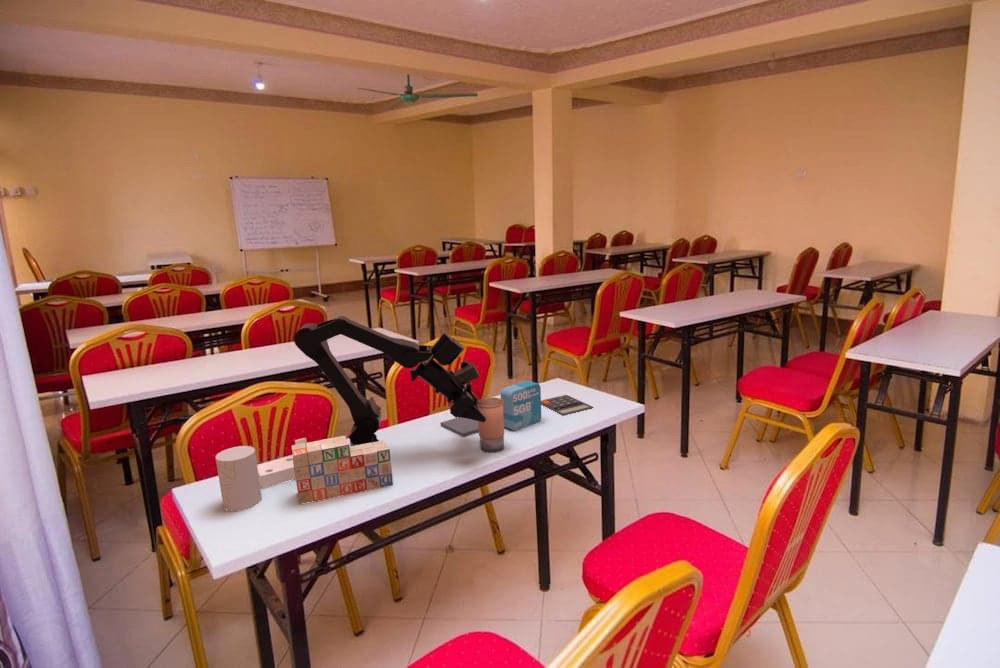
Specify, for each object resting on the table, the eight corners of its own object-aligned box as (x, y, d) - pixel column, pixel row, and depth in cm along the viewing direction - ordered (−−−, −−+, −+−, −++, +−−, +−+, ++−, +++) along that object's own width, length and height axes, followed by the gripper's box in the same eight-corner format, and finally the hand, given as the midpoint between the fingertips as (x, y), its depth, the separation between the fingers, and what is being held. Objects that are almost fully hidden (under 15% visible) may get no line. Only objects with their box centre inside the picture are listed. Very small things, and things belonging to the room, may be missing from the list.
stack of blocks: (388, 474, 146) (383, 427, 143) (393, 485, 140) (389, 436, 138) (297, 493, 138) (290, 444, 136) (298, 505, 133) (292, 454, 130)
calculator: (566, 394, 198) (593, 406, 185) (566, 396, 198) (593, 409, 185) (536, 400, 193) (562, 414, 180) (536, 403, 193) (562, 417, 180)
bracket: (308, 464, 154) (305, 437, 153) (316, 474, 148) (313, 446, 147) (256, 479, 147) (251, 450, 146) (262, 489, 142) (258, 460, 140)
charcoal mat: (463, 437, 167) (463, 433, 167) (440, 425, 176) (440, 422, 176) (497, 426, 174) (496, 422, 174) (473, 415, 183) (473, 412, 183)
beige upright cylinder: (218, 503, 135) (210, 454, 133) (253, 490, 141) (246, 443, 138) (231, 515, 130) (223, 464, 127) (267, 501, 135) (260, 452, 133)
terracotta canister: (487, 441, 153) (485, 408, 151) (473, 433, 159) (471, 401, 157) (509, 434, 157) (508, 402, 155) (495, 427, 163) (494, 395, 161)
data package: (512, 432, 169) (510, 392, 166) (501, 428, 172) (499, 388, 170) (541, 420, 177) (540, 382, 174) (531, 417, 180) (530, 379, 177)
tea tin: (488, 454, 154) (487, 440, 154) (475, 447, 160) (475, 433, 159) (508, 448, 158) (508, 434, 157) (496, 441, 163) (495, 427, 162)
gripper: (460, 364, 143) (508, 403, 147) (458, 346, 161) (500, 381, 165) (430, 398, 144) (478, 436, 148) (431, 376, 162) (474, 411, 166)
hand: (483, 414), depth 156 cm, fingers open, 9 cm apart
